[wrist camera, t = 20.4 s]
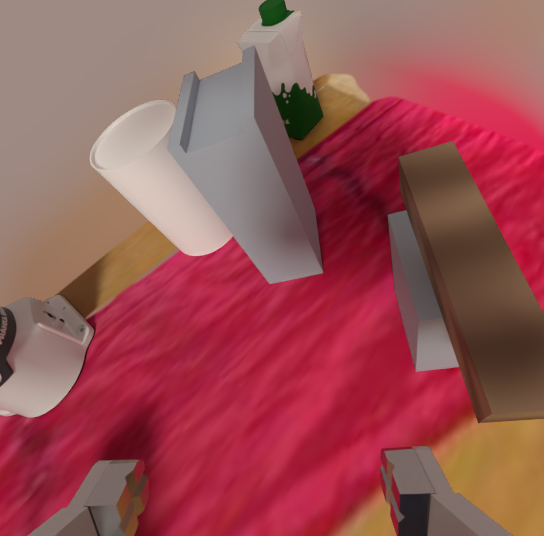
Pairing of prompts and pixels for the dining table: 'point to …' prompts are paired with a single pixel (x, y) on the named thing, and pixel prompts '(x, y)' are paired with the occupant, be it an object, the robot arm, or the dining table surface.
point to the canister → (157, 178)
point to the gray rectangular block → (417, 300)
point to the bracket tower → (247, 167)
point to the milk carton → (285, 66)
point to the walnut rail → (476, 286)
